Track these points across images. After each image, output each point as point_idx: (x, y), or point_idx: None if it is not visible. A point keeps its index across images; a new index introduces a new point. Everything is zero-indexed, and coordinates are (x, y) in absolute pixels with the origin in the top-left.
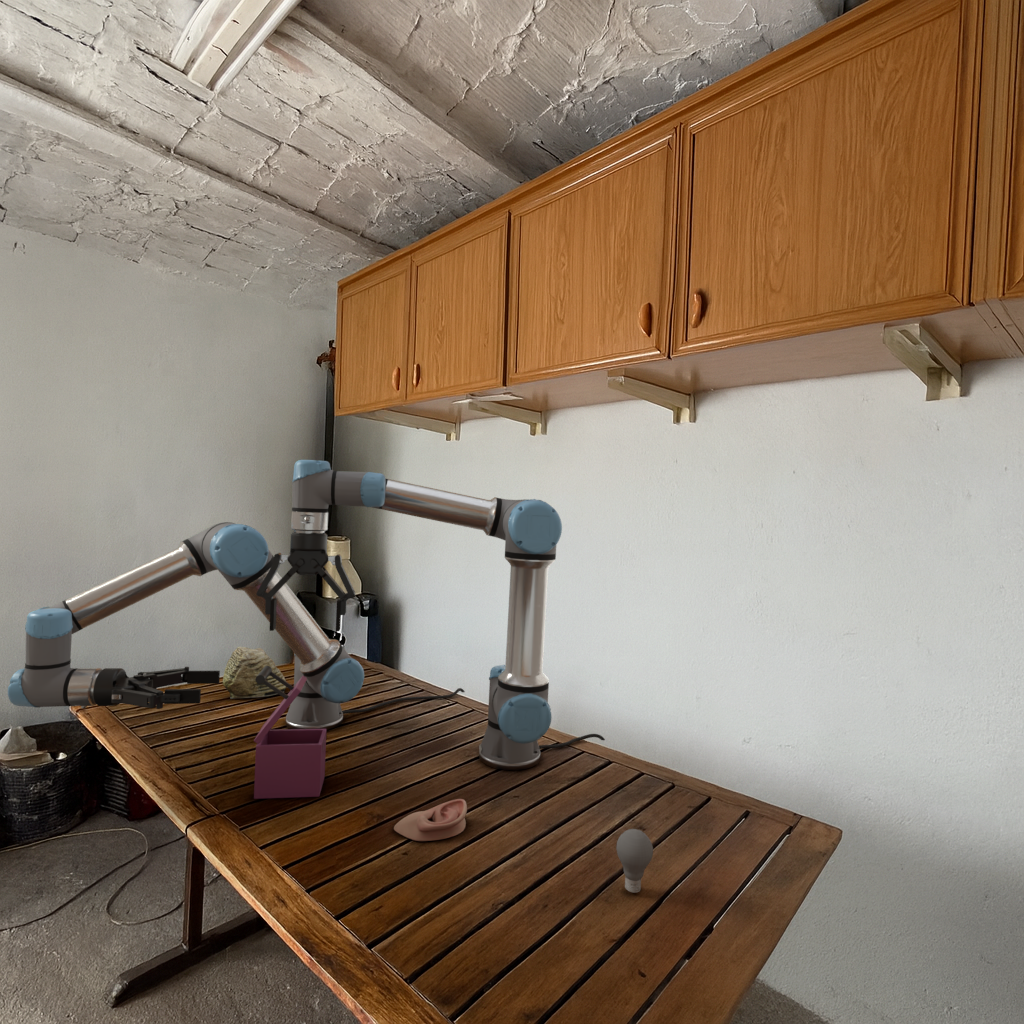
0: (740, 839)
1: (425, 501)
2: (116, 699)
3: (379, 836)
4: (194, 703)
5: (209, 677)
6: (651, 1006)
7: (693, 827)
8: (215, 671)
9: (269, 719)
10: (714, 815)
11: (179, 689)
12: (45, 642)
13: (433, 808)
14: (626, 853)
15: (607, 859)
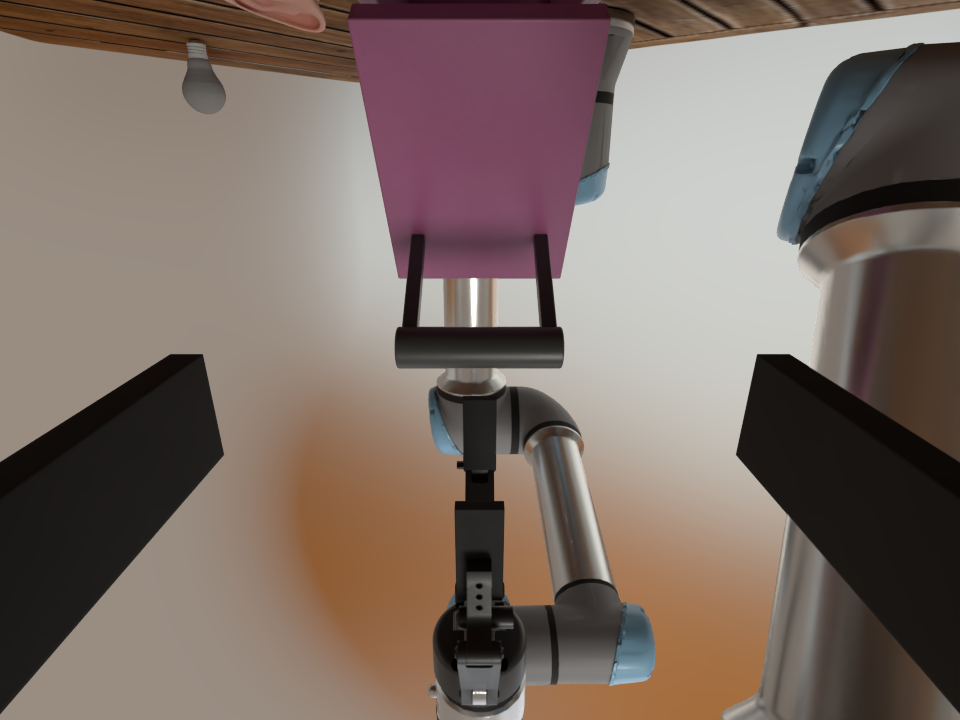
0: (334, 68)
1: (543, 534)
2: None
3: None
4: (148, 369)
5: (791, 449)
6: (5, 29)
7: (351, 62)
8: (751, 470)
9: (456, 122)
10: None
11: (113, 572)
12: None
13: (293, 3)
14: (185, 94)
15: (256, 37)
